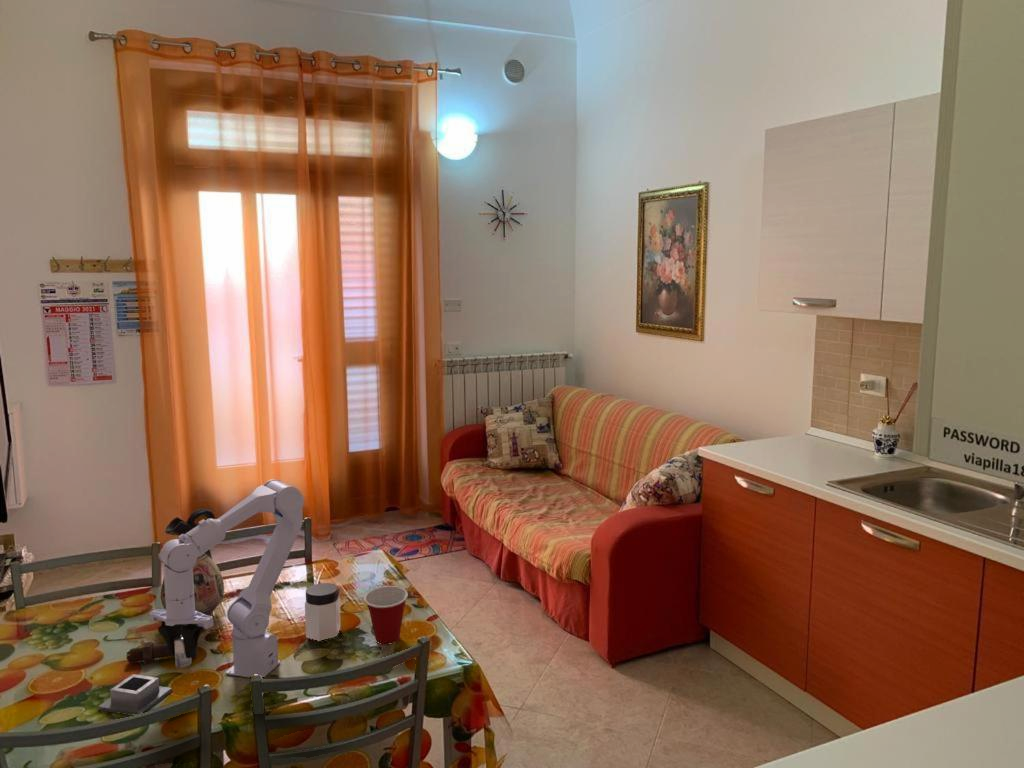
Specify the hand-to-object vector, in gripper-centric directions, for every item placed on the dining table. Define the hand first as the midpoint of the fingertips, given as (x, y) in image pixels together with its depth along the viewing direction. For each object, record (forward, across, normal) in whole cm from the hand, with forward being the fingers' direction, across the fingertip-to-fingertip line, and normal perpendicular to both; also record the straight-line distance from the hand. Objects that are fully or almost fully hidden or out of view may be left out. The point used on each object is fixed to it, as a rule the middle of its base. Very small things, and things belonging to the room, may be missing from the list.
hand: (183, 654), depth 164 cm
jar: (+9, +16, +32) cm, 37 cm away
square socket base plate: (+8, -8, -6) cm, 13 cm away
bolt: (+9, -15, +11) cm, 20 cm away
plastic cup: (+9, +33, +33) cm, 48 cm away
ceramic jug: (+9, -21, +32) cm, 39 cm away
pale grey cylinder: (+2, 0, 0) cm, 2 cm away
